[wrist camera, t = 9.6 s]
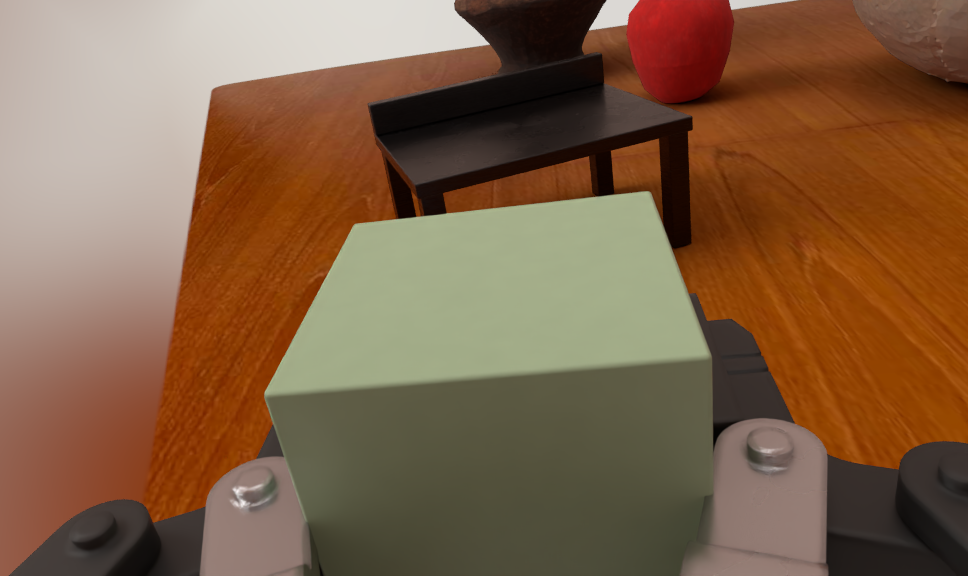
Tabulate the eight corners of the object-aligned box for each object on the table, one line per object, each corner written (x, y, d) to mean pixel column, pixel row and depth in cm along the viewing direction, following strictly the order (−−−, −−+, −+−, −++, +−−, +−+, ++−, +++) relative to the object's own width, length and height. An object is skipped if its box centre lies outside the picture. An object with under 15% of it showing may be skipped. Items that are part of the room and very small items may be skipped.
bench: (441, 316, 43) (407, 147, 39) (398, 243, 53) (367, 103, 49) (696, 243, 46) (691, 80, 42) (608, 187, 57) (597, 51, 52)
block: (417, 865, 12) (260, 394, 8) (447, 618, 16) (353, 222, 12) (718, 861, 12) (712, 356, 8) (670, 607, 16) (651, 189, 12)
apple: (679, 119, 69) (674, -9, 64) (610, 105, 77) (601, -10, 72) (757, 92, 73) (758, -31, 68) (683, 81, 81) (679, -30, 76)
